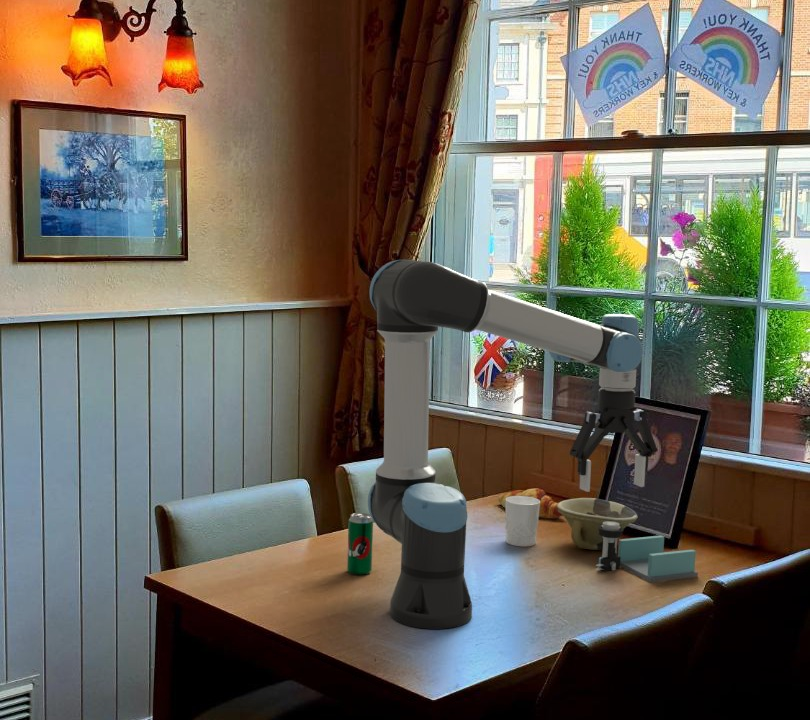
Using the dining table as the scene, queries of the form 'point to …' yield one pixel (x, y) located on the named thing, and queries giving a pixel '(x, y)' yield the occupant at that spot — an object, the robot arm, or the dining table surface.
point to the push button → (609, 546)
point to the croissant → (546, 503)
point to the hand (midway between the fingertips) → (612, 487)
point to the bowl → (593, 519)
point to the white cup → (521, 520)
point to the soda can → (360, 544)
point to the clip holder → (655, 559)
